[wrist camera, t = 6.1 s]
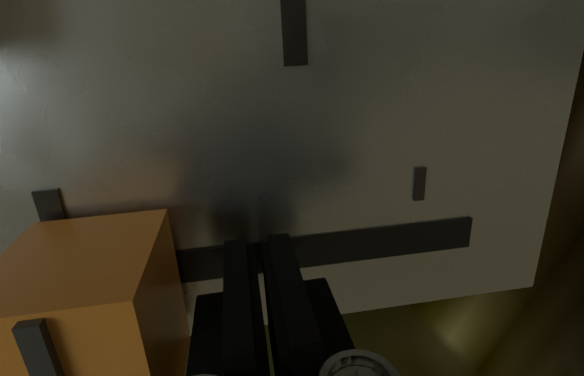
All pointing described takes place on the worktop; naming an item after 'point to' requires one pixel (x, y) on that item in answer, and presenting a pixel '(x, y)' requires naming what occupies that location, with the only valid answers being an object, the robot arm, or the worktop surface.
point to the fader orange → (93, 299)
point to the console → (298, 132)
